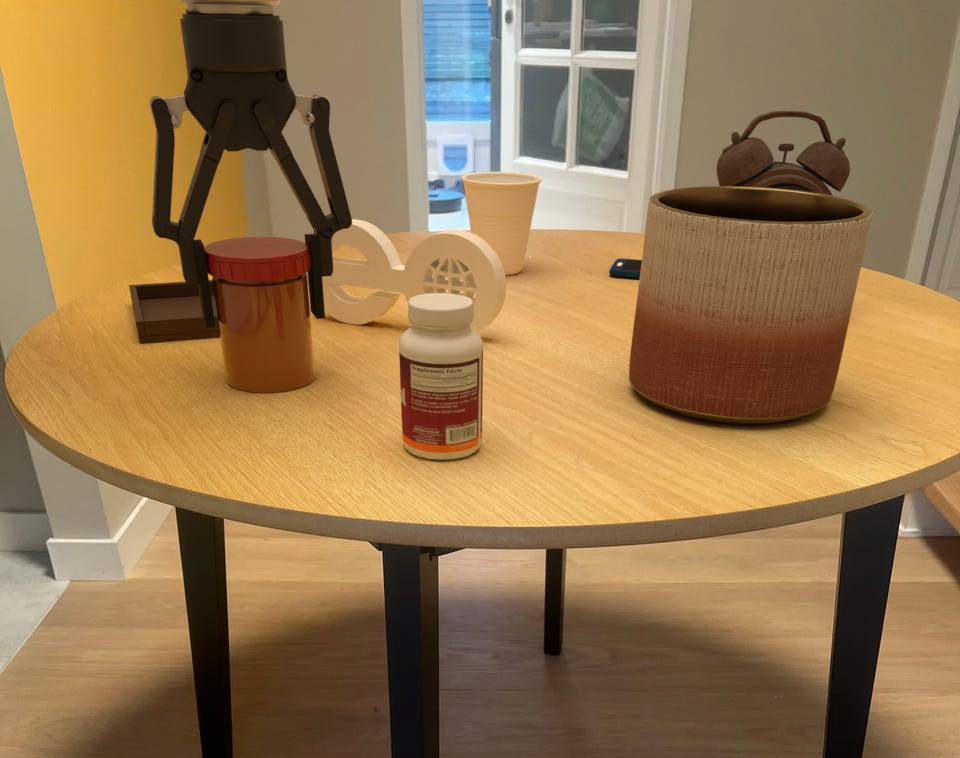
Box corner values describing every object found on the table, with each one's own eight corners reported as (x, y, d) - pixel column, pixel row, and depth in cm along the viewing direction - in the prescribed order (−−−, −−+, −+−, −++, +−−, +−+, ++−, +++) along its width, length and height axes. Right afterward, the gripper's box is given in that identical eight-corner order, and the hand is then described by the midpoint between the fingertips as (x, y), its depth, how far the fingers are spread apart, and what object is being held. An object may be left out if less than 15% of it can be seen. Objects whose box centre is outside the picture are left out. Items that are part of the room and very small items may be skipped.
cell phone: (615, 263, 126) (616, 257, 126) (721, 271, 123) (722, 265, 123) (607, 276, 120) (608, 269, 120) (718, 284, 117) (719, 278, 117)
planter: (874, 409, 82) (925, 213, 73) (717, 445, 74) (754, 231, 65) (733, 353, 94) (762, 180, 85) (587, 379, 87) (603, 192, 78)
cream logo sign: (504, 339, 97) (507, 235, 91) (496, 344, 95) (499, 239, 90) (319, 313, 104) (312, 214, 98) (309, 317, 102) (300, 218, 97)
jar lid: (319, 278, 78) (318, 255, 77) (211, 284, 76) (208, 261, 75) (301, 255, 85) (299, 234, 84) (201, 261, 83) (198, 239, 82)
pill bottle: (418, 427, 76) (415, 286, 70) (491, 437, 75) (494, 293, 69) (390, 456, 71) (384, 307, 65) (467, 467, 70) (469, 315, 64)
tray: (139, 343, 94) (135, 321, 93) (132, 304, 106) (128, 284, 105) (274, 332, 98) (272, 311, 96) (252, 295, 110) (250, 277, 108)
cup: (445, 269, 122) (444, 176, 116) (498, 258, 128) (500, 169, 122) (500, 283, 116) (502, 186, 110) (552, 271, 122) (558, 178, 116)
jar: (231, 396, 81) (214, 269, 76) (220, 368, 88) (204, 249, 82) (323, 387, 84) (313, 263, 78) (306, 361, 90) (295, 244, 84)
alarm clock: (701, 317, 105) (731, 113, 94) (687, 301, 111) (714, 107, 100) (829, 319, 106) (874, 115, 94) (809, 302, 112) (848, 109, 100)
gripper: (77, 7, 64) (138, 340, 77) (383, 13, 70) (394, 320, 83) (76, 7, 70) (133, 316, 83) (360, 12, 76) (373, 299, 89)
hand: (264, 318), depth 83 cm, fingers open, 9 cm apart
